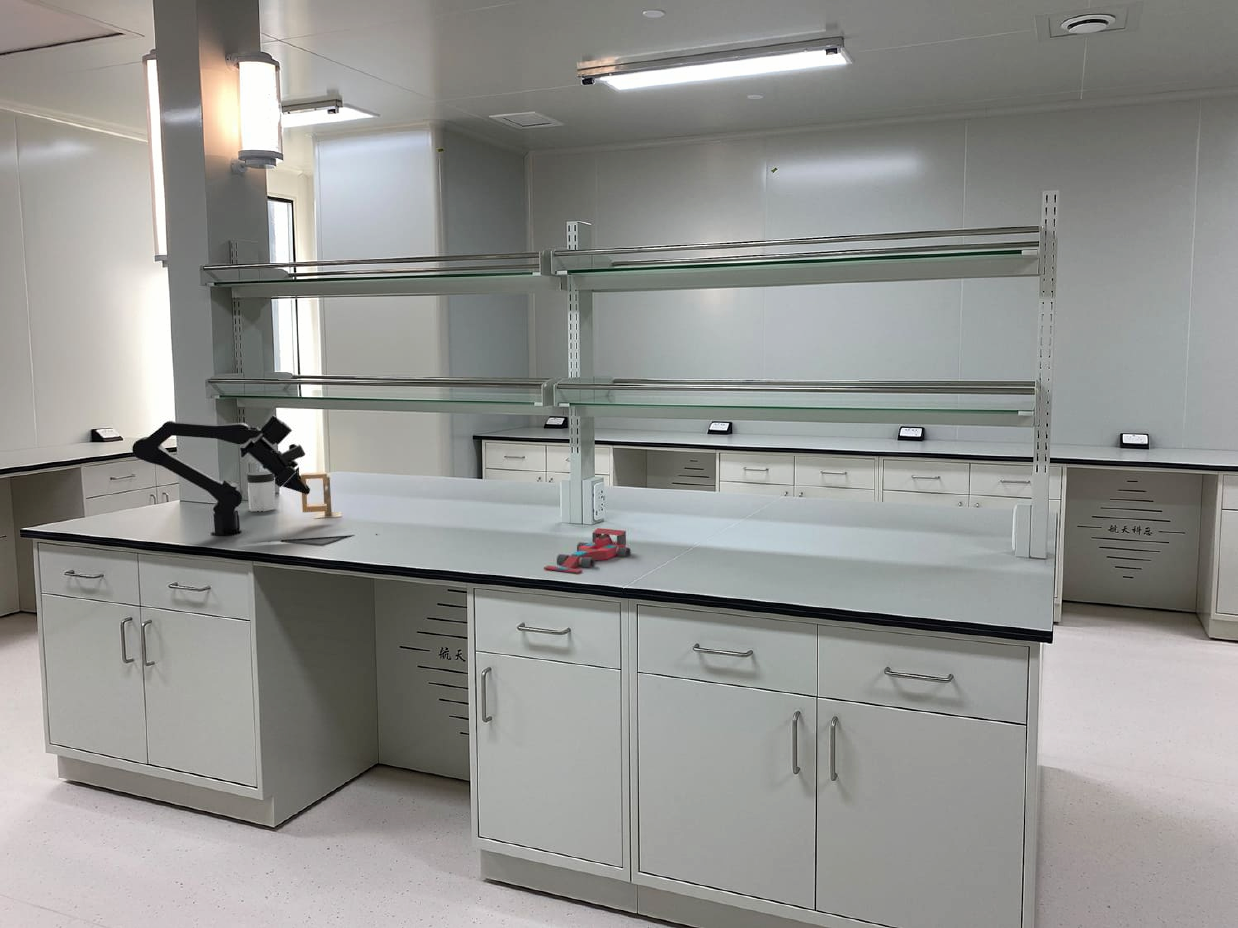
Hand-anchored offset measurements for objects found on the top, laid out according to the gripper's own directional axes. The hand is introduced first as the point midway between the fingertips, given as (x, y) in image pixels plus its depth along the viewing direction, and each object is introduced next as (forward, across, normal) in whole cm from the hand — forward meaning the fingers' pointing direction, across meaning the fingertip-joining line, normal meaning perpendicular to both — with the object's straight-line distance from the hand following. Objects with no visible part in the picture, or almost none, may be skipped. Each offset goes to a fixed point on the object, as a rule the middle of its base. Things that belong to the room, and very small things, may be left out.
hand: (309, 492), depth 285 cm
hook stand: (+11, +7, +4) cm, 14 cm away
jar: (-4, +38, +19) cm, 42 cm away
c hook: (+5, 0, +3) cm, 6 cm away
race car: (+55, -67, -40) cm, 96 cm away
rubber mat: (+9, -17, +6) cm, 20 cm away
